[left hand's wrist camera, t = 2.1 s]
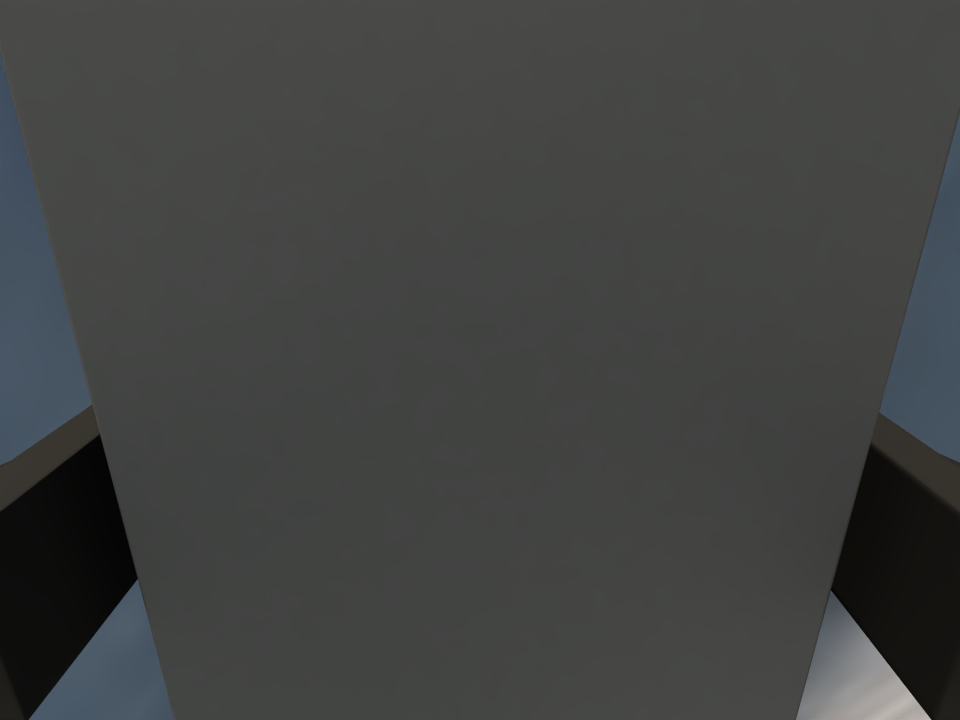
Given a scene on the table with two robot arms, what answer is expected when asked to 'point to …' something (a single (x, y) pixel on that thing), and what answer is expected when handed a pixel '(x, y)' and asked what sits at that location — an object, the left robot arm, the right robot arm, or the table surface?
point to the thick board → (485, 332)
